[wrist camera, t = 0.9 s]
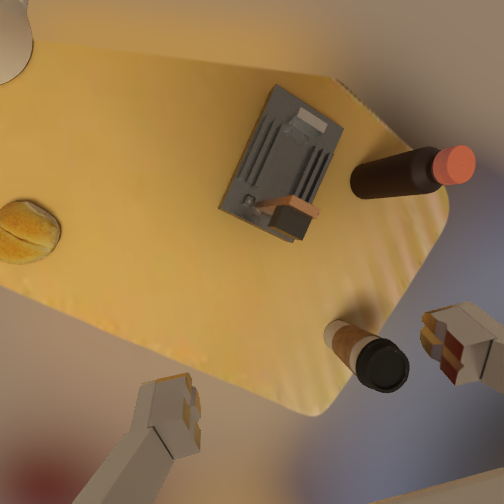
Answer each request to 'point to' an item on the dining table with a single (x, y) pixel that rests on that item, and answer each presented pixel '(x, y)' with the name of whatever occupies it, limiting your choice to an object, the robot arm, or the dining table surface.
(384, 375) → the coffee cup
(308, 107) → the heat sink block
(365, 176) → the bottle
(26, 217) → the bread roll
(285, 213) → the brown and black bar
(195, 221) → the dining table surface
